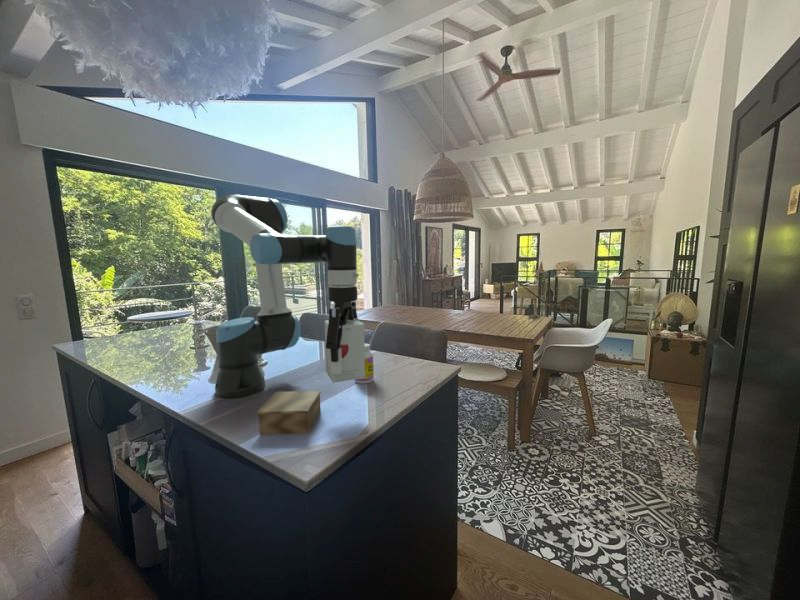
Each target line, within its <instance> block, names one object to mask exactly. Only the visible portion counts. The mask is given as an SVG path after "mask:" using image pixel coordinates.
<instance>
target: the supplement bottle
mask: <svg viewBox="0 0 800 600" xmlns="http://www.w3.org/2000/svg"><path fill="white" fill-rule="evenodd" d="M370 349H371V344H370V343H366V342H365V378H361V379H355V380H354V382H355V383H357V384H362V385H363V384H369V383H372V382H373V381H374V354H373V352H372V351H370Z"/></svg>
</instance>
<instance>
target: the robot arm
mask: <svg viewBox="0 0 800 600" xmlns="http://www.w3.org/2000/svg"><path fill="white" fill-rule="evenodd" d="M210 211H211V212H210V213H211V214H210V215H211V219H212V221H213V223H214V224H215V225H216V227H218V228H219V229H220V230H222V231H224V232H225V233H229V234H232V235H234V236H235V237H236V238H238V239H239V240H240V241H242V242H243V243H244V244H246V245H247V246H248V247H249V252H250V255H251V257H252V260H253V262H254V263H255V272H256V279H257V286H258V294H259V301H260V302H259V303H260V311H259V312H258V313H257V314H256V317H257V320H255V317H250V316H247V317H245V316H244V317H239V318H238V317H237V318H234V319H230V320H227V321H224V322H222V323H220V324H219V325H218V326H217V327H216V335H215V337H216V338H215V342H216V347H217V357H218V358H217V360H218V367H219V369H218V370H219V371H218V374H217V378H216V382H215V385H214V386H215V387H214V391H215V396H217V397H219V396H220V397H219V398H223V397H224V398H226V399H231V398H242V397H246V396H249V395H254V394H256V393H258V392H260V391H262V390H264V388H265V387H266V379H265V377H264V375H263V372H262V370H261V368H260V366H259V359H258V356H259V355H263V354H267V353H272V352H276V351H284V350H287V349H290V348H293V347H294V346H296V345H297V343H298V341H299V340H300V337H301V323H300V321H299V319H298V317H297V316H295V314H294V315H293V313H292V312H293V311H292V310H291V309H290V308H289V307H288V306H287V297H286V293H285V292H286V291H285V281H284V274H283V266H282V265H285V264H286V265H287V264H289V265H290V264H319V263H321V264H324V263H325V264H327V285H328V286H330V287H328V300H329V302H332V303H334V307H333V308H329V310H328V320H329V324H328V332H327V340H326V349H330V363H331V373H336V374H341V373H342V357H341V348H340V343H341V338H342V326H343V325H345V324H346V323H347V320H353V319H354V318H356V319H357V320H359V318H358V312H357V302H356V301H357V300H358V287H357V286H356V285H357V284H358V277H359V273H358V271H357V244H358V241H357V235H356V234H357V233H356V229H355V228H354V227H353V226H348V225H329V226H327V228H326V233H325V234H324V235H323V234H322V235H321V234H320V235H319V234H312V235H311V234H285V233H283V232H285V231H286V230H287V228H288V225H287V224H288V215H287V211H286V208H285V206H284V205H283V203H281V202H280V201H279V200H277V199H275V198H270V197H261V196H251V195H241V194H226V195H224V196H222V197H220V198H219V199H217V200H216V201H215V202H214V203H213V205H212V207H211V209H210ZM339 326H341V327H340V328H339Z"/></svg>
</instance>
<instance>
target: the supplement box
mask: <svg viewBox="0 0 800 600" xmlns="http://www.w3.org/2000/svg"><path fill="white" fill-rule="evenodd" d="M328 324H329V319H327V320H324V337H325V338H324V342H325V343H324V345H325V346H324V348H325V353H324V354H325V373H326V374H327V376H328V377H329V379H330V380H331V382H332V383H333V384H334V383H339V382H348V381H353V380H354V381H355V379H361V378H365V343H366V342H365V323H363V322H362V321H360V320H359V319H358V320H357V319H356V318H354V319H353V320H347V323H346V324H345V325H343V326H342V338H341V343H340V348H341V357H342V373H341V374H336V373H331V363H330V349H326V340H327V332H328ZM340 327H341V326H339V328H340Z"/></svg>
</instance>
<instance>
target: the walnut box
mask: <svg viewBox="0 0 800 600" xmlns="http://www.w3.org/2000/svg"><path fill="white" fill-rule="evenodd" d="M321 410H322V409H321V390H305V391H304V390H303V391H300V390H297V391H293V390H291V391H276V392H275V393H274V394H273V395H272V396H271V397H270V398H269V399H268V400H266V402H265V403H264V404H263V405H262V406H260V408H259V409H258V410H257V411H256V412H257V413H256V414H257V415H258V423H259V426H258V427H259V435H309V433H310V432H311V431H312V428H313V426H314V425H315V423H316V421H317V420H318V417H319V416H320V414H321V412H322V411H321Z"/></svg>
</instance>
